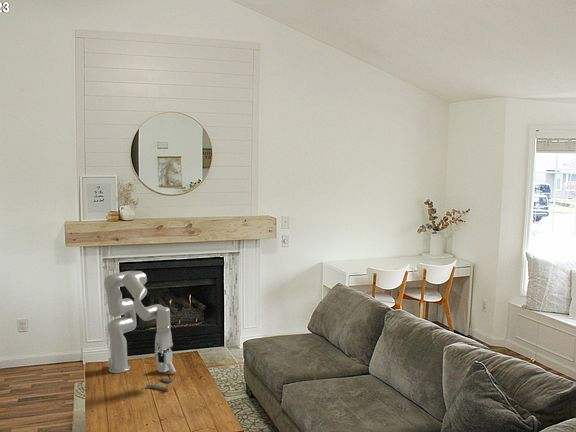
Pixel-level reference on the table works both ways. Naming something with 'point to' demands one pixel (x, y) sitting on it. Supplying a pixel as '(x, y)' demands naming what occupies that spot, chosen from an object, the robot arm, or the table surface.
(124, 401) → the table surface
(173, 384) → the receiver
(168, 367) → the white jointed piece
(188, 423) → the table surface
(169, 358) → the block
